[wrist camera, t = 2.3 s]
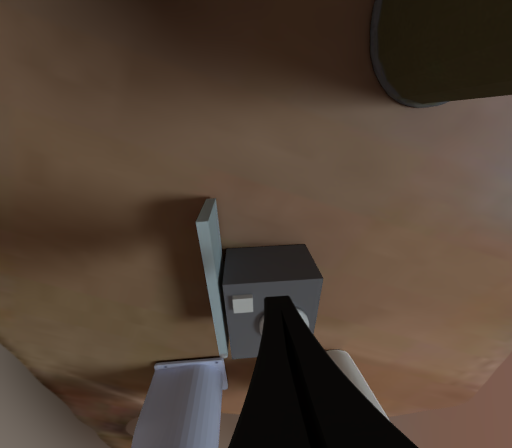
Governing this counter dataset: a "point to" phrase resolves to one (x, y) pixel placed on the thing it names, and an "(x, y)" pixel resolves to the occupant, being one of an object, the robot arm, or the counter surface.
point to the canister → (442, 49)
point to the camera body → (266, 290)
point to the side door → (214, 270)
